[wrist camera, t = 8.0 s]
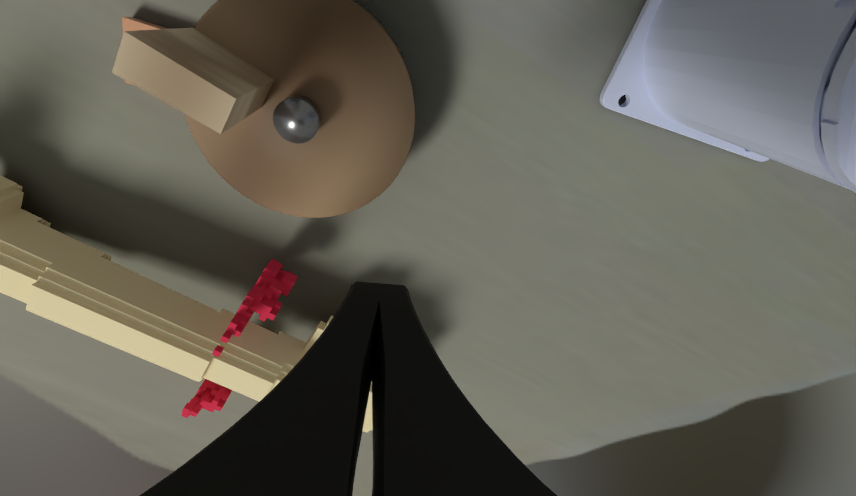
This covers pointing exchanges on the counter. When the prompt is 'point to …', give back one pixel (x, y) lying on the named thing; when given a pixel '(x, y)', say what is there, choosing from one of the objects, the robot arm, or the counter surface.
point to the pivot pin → (297, 119)
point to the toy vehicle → (149, 311)
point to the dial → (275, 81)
